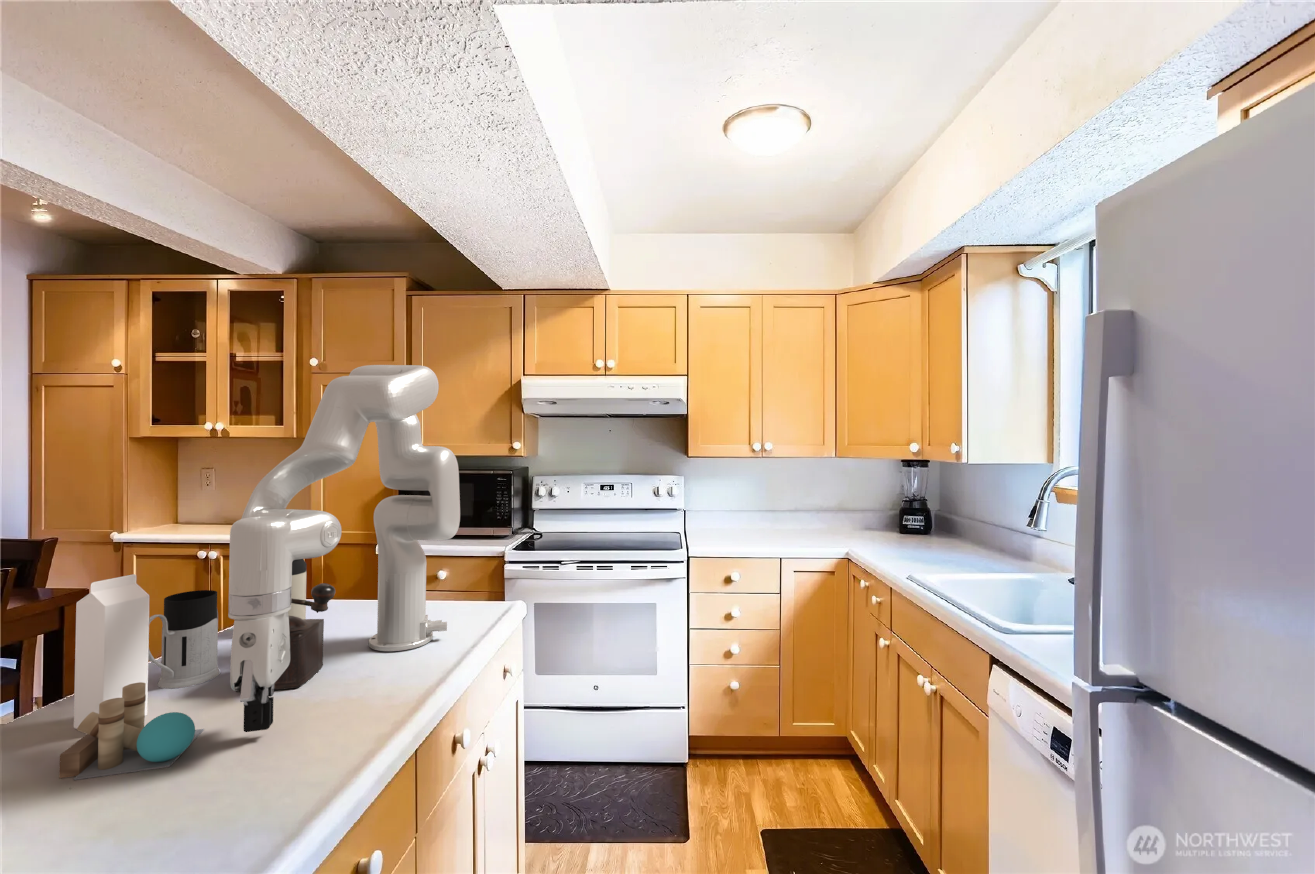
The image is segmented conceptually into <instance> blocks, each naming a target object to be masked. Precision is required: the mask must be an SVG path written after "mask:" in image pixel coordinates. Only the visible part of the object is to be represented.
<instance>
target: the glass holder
mask: <svg viewBox="0 0 1315 874" xmlns="http://www.w3.org/2000/svg"><path fill="white" fill-rule="evenodd" d="M218 611H219V610H218V591H216V590H212V589H203V590H191V591H185V592H178V593H174V594H170V595H168V596H165V597H164V598H163V614H154V615H151V616H149V625H150V624H151V622H152V621H153V620H155V619H156V618H159V619H160V620H161V622H162V627H161V662H159V661H158V660H156V659H155V657H154V656H153V655H152V653H151V651H150V647H149V648H148V662H151V663H152V664H153V665H155V666H156V667H159V668H160V669H161V671H160V673H161V675H160V678H159V680H158V682H157V686H158V687H159V688H161V689H171V690H172V689H181V688H189V687H193V686H197V685H200V684H204V683H207V682H210V681H211V680H213V679H215V678H217V677H218V676H219V675H220V674H221V671H220V668H219V666H218V644H219V643H218V638H219V636H218V633H219V632H218V629H219V612H218Z"/></svg>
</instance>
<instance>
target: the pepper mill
mask: <svg viewBox="0 0 1315 874" xmlns="http://www.w3.org/2000/svg"><path fill="white" fill-rule="evenodd" d="M310 593H311V597H312V598H313V601H311V600H307V599H306V600H299V599H294V598H291V603H293V604H299V605H306V607H307V606H308V607H310V610H312V611H314V612H316V613H317V614H318V613H321V612H322V613H323V612H326V611H328V609H329V606H328V603H329V602H330V601H331V600H332V599H333V598H334V596H335V594H336V587H334V586H333V585H331V584H330V583H325V582H324V583H319V584H316V585H315V586H313V587H312V589H311V591H310ZM324 625H325V621H324V618H308V619H307V618H306V619H301V618H299V617H295V616H289V631H290V663H289V666H288V667H287V669H286V670H285V671H284V672H283V674H282V675H281V676H280V677H279V678H278V680H277V681H276V682H275V683H274V691H276V690H277V691H278V690H289V689H296V688H297V689H298V688H300V687H301V686H303V685H305V684H306V682H307V681H308V680H309V681H310V680H311V679H312V678H313V677H314V675H315V674H316V673H317V674H318V673H319V672H320V671H321V670H322V668H323V666H324V633H325V632H324V631H325V630H324V629H325V628H324V627H325V626H324ZM319 670H320V671H319ZM317 674H316V675H317ZM316 675H315V676H316ZM309 681H308V682H309ZM308 682H307V683H308ZM235 692H236V693H239V692H240V693H241V688H240V689H239V690H238V691H235Z"/></svg>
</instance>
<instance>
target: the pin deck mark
mask: <svg viewBox="0 0 1315 874" xmlns="http://www.w3.org/2000/svg"><path fill="white" fill-rule="evenodd" d="M204 731H205V728H199V729H195V734H194V738H193V740H192V742H191V743H190V745H189V746H191V745H192V744H193V743H194V742H195V740H197V738H198V737H199V736H200V735H201V734H202V733H203V732H204ZM189 746H188V747H187V749H188V748H189ZM184 752H185V751H183V752H182V753H181V754H180V755H178V756H176V757H175V758H173V759H170V760H167V761H163V762H151V761H148V760H145V759H144V758H142V757H141V756H140V754H139V753H138V752H137V751H134V750H131V749H128V750H123V762H122V763H121V764H120V765H118V766H116V767H113V768H110V769H105V770H99V769H98V759H96V760H95V761H94V762H93V763H92V764H90V765H89V766H88V767H87V768H86V769H85V770H83V771H82V772H81V773H80V774H79V775H77V776H74V778H73V781H77V780H84V779H91V778H99V777H107V776H114V775H115V776H116V775H120V774H121V775H122V774H128V773H136V772H143V771H149V770H157V769H163V768H170V767H171V766H172V765H173V764H174V763H175V762H176V760H177V759H179V758H180V756H182V754H183V753H184Z"/></svg>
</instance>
